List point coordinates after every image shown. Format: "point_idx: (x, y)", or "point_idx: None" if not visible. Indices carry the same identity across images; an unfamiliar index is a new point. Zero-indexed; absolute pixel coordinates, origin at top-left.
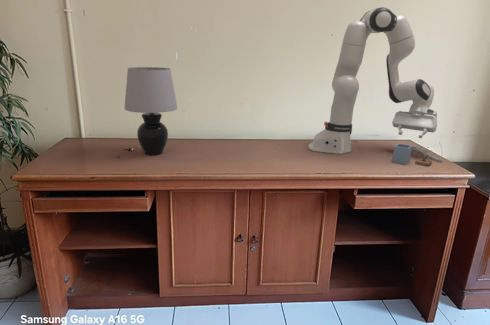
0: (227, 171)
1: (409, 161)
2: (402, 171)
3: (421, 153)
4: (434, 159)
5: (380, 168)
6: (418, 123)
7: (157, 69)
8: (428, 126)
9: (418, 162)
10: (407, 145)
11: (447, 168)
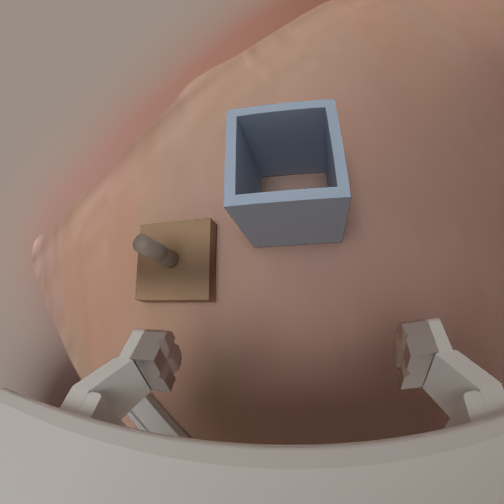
0: None
1: (253, 245)
2: (240, 79)
3: None
4: None
5: (324, 54)
6: (144, 497)
7: None
8: (21, 414)
9: (195, 221)
10: (263, 192)
11: (82, 273)
